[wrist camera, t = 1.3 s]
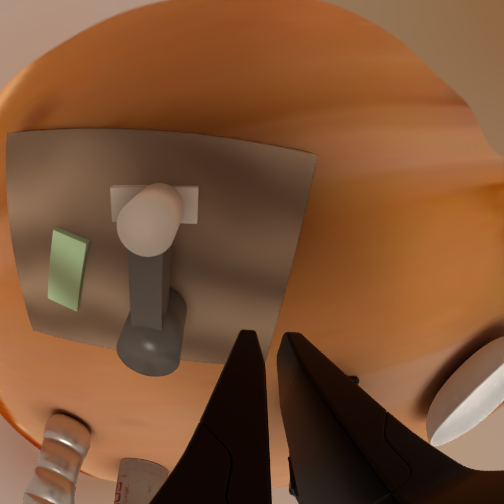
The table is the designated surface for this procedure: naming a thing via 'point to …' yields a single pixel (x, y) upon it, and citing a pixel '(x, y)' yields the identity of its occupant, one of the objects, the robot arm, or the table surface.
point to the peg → (151, 282)
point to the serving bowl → (468, 395)
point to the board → (183, 246)
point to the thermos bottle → (138, 481)
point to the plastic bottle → (58, 462)
